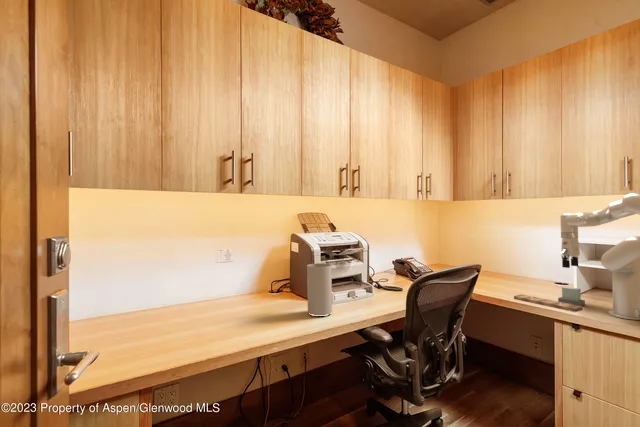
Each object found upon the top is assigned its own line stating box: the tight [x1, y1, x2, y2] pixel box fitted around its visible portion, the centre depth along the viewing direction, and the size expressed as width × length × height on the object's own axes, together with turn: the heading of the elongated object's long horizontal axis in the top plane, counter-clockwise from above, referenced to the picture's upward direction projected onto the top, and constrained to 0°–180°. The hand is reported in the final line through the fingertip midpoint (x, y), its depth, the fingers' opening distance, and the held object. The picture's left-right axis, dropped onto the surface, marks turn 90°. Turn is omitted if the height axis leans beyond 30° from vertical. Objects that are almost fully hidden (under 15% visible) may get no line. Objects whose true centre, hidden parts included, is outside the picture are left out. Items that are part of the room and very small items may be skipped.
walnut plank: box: [513, 294, 583, 312], centre depth 176 cm, size 30×8×2 cm, turn 29°
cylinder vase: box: [306, 262, 333, 315], centre depth 164 cm, size 12×12×25 cm
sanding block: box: [557, 286, 586, 307], centre depth 175 cm, size 10×6×8 cm, turn 29°
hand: (570, 266), depth 176 cm, fingers open, 9 cm apart
